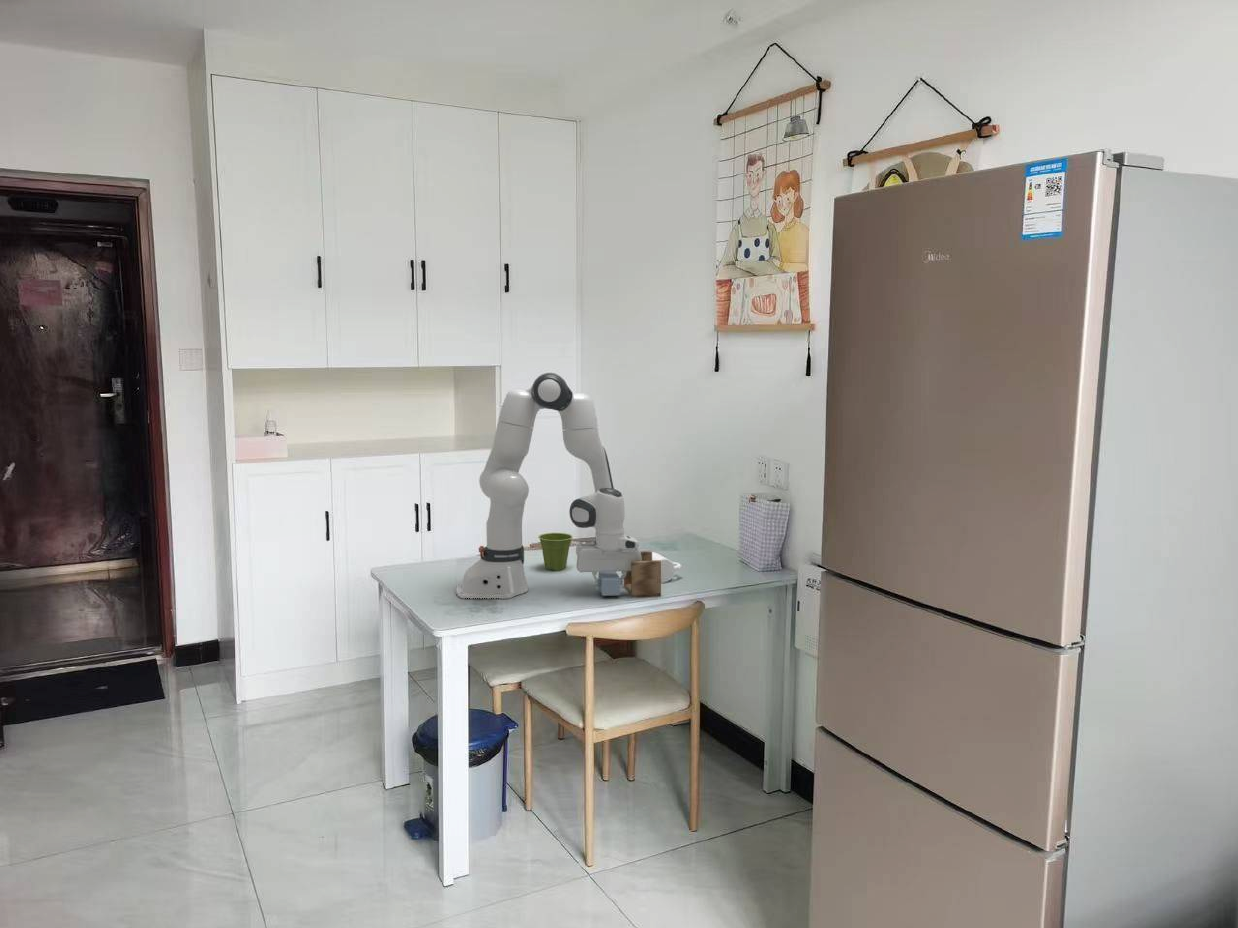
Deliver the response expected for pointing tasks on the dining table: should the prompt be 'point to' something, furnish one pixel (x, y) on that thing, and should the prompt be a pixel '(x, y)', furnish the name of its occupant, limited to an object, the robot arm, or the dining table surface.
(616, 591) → the light blue block
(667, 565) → the mug
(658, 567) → the stand
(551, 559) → the plant pot
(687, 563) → the dining table surface
